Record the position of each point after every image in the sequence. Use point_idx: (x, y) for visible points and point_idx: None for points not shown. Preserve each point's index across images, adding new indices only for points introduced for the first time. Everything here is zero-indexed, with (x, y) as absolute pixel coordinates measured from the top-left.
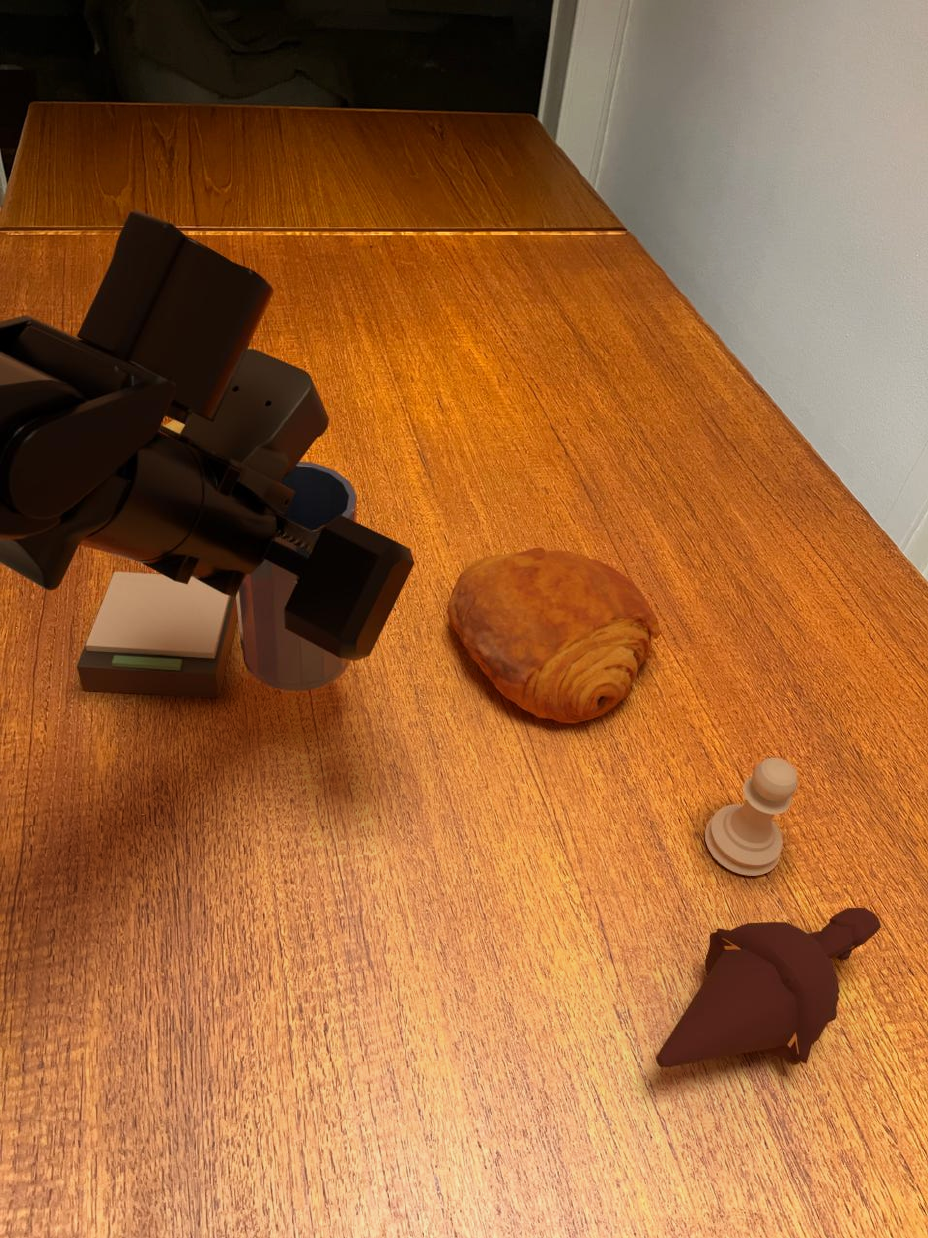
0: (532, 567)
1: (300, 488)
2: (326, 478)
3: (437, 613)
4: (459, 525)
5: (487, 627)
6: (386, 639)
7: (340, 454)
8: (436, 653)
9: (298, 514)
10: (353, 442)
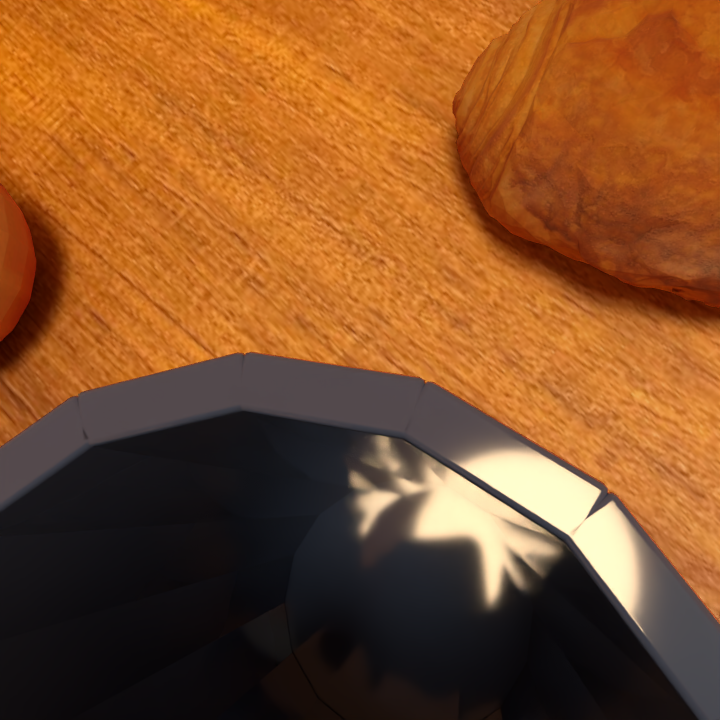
0: (659, 20)
1: (134, 496)
2: (236, 422)
3: (447, 216)
4: (331, 30)
5: (663, 223)
6: (420, 328)
7: (59, 48)
8: (514, 293)
9: (202, 505)
10: (58, 12)
